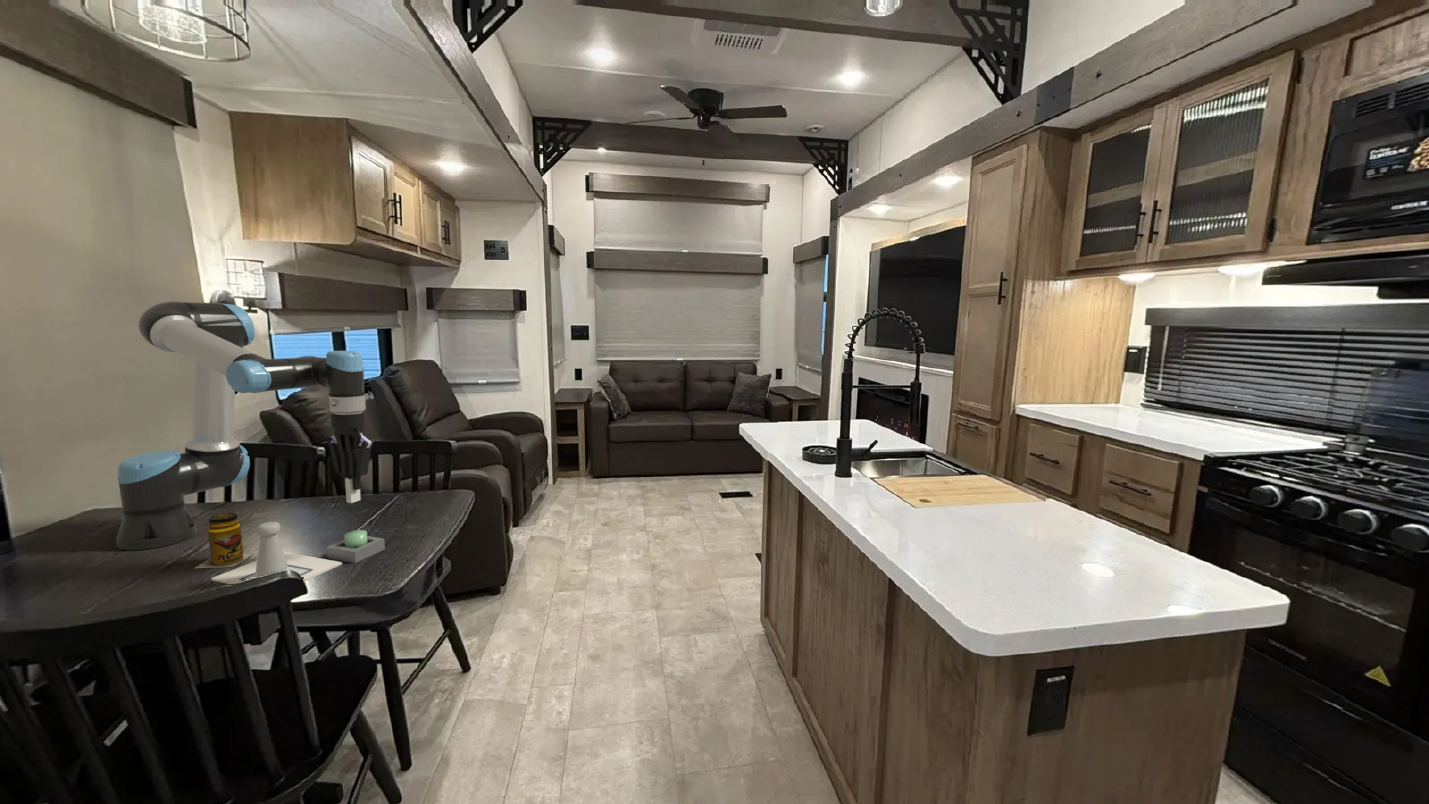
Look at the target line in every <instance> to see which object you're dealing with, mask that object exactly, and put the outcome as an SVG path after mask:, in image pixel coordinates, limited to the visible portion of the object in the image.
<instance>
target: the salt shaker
mask: <svg viewBox="0 0 1429 804" xmlns="http://www.w3.org/2000/svg"><path fill="white" fill-rule="evenodd" d="M280 532H281V524H280V523H279V522H277V521H267V522H264V523H263V522H262V523H261V524H259V525H257V527H256V534H257V535H258V536H260V539H259V546H258V554H257V560H256V561H257V566H256V573H257V574H258V575H259V577H260V576H265V575H269V574H273V573H276V572H279V571H283V570H286V568H287V561H286V558H285V555H284V552H285V551H284V549H283V547H282V543H281V542H282V541H281V540H280V537H279V533H280Z"/></svg>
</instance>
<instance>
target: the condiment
mask: <svg viewBox="0 0 1429 804" xmlns="http://www.w3.org/2000/svg"><path fill="white" fill-rule="evenodd" d="M208 521H209V528H208V530H207V533H208V534H207V535H208V543H209V553H210V557H209V558H208V559H207V560H205V561H203V562H202V563H201V564H199V565H198V566H196V567H194V569H203V568H204V569H207V568H208V569H209V568H212V569H213V568H214V569H215V568H231V567H232V568H233V567H235V566H237V565H239V564H240V563H242V562H243V561H245V560H246V559H247V558H248V557H249V556H251V555H252V553H244V547H243V546H244V545H243V537H242V526H241V524H240V523H239V519H238V514H237V513H236V512H226V513H225V512H224V513H220V514H219V513H218V514H216V515H213V516H211V517H209V519H208Z"/></svg>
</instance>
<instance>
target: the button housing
mask: <svg viewBox="0 0 1429 804" xmlns="http://www.w3.org/2000/svg"><path fill="white" fill-rule="evenodd" d="M367 542H368V543H367V544H365V545H363V546H360V547H358V548H356V549H354V548H348V547H345V541H344V539H343V540H339V541H338V542H336V543H332V544H331V545H328V546H326V556H327V557H326V558H327V559H329V560H330V559H331V560H334V561H340V562H346V563H353V564H357V563H359V562H361V561H363V560H365V559H367V558H369V557H371V556H374V555H376V554H378V553H380V552H382V551H385V550H386V545H385V544H386V543H385V538H382V537H377V536H369V535H367Z"/></svg>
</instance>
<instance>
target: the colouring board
mask: <svg viewBox="0 0 1429 804" xmlns="http://www.w3.org/2000/svg"><path fill="white" fill-rule="evenodd" d="M283 552H284V555H285V558H286V561H287V568H286V570H294V571H296V572H298V573H299V574H300V575H301V576H302V577H304V580H305V581H304V582H306V581H308V580H311V579H313V578H315V577H318V576H319V575H321V574H323V573H326V572H328V571H330V570H333V569H334V568H337V567H339V566H341V565H343V561H339V560H333V559H331V560H330V559H328V558H327V559H325V558H319V557H314V556H310V555H309V556H308V555H303V554H299V553H292V552H288V551H283ZM256 566H257V560H254V561H252V562H249V563H247V564H245V565H242V566H239V567H236V568H234V569H231V570H229V571H225V572H224V573H221V574H219V575H216V576H213V577H211V578H210V579H211V581H213V582H216V583H217V582H218V583H221V584H228V585H231V584H233V583H236V582H241V581H244V580H246V579H250V578H252V577H259V575H258V574H257V573H256Z"/></svg>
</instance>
